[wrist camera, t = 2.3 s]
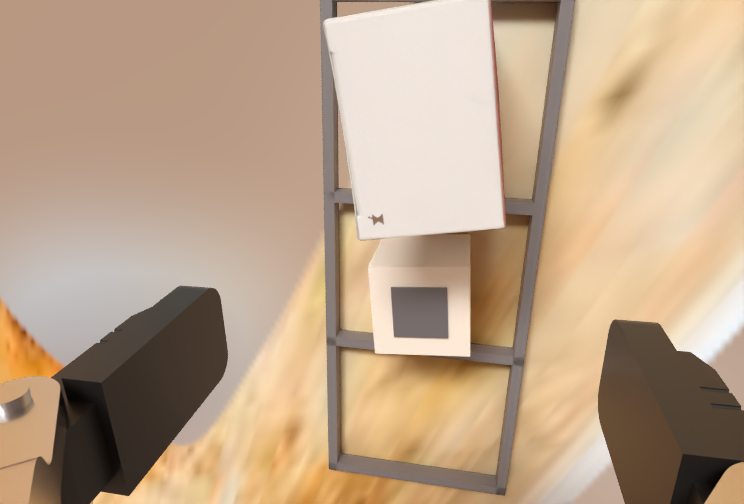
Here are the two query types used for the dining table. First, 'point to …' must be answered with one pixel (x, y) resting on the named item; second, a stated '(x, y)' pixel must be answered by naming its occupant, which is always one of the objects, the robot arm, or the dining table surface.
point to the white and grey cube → (421, 295)
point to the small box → (420, 117)
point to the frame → (477, 351)
